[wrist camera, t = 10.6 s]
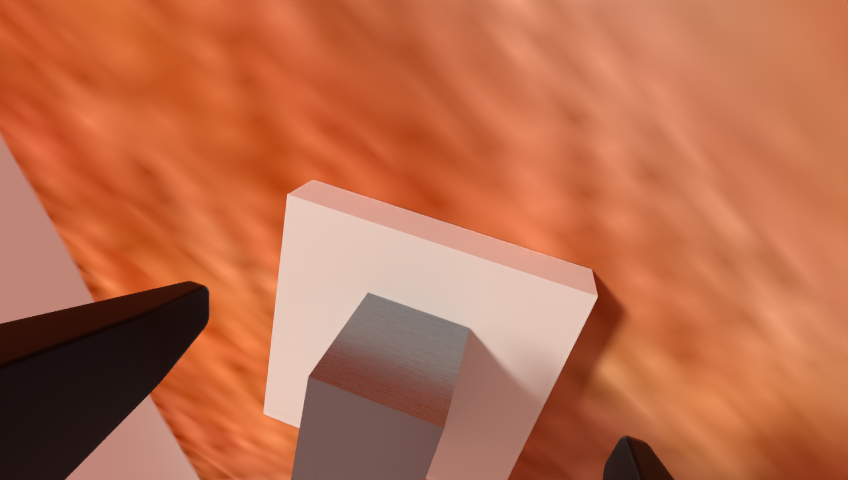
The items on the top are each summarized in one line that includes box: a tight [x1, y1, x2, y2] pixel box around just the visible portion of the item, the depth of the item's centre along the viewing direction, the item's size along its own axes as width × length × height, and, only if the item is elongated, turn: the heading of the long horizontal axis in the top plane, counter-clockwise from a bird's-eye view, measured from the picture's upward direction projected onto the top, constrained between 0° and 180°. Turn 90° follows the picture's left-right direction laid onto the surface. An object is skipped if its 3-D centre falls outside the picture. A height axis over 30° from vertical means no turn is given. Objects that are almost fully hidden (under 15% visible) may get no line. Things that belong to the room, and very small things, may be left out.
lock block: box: [291, 292, 470, 480], centre depth 19 cm, size 5×7×6 cm
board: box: [263, 180, 598, 480], centre depth 23 cm, size 14×14×2 cm
